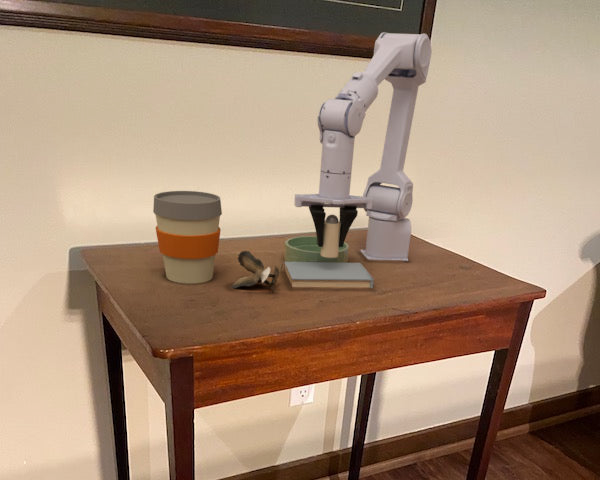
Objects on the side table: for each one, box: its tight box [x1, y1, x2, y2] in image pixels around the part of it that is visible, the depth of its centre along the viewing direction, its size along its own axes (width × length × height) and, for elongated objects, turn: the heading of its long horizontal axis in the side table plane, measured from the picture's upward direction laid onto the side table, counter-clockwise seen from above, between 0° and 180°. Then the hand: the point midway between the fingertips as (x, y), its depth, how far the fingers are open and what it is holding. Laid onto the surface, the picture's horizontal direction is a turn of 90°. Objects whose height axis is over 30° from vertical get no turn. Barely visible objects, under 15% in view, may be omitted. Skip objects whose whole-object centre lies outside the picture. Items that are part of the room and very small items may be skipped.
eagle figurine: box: [231, 250, 284, 293], centre depth 115 cm, size 8×7×9 cm
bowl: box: [283, 235, 350, 263], centre depth 133 cm, size 14×14×4 cm
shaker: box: [320, 214, 341, 258], centre depth 119 cm, size 4×4×8 cm
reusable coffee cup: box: [152, 190, 223, 285], centre depth 117 cm, size 13×13×15 cm
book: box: [283, 261, 375, 289], centre depth 122 cm, size 16×11×2 cm
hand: (329, 245), depth 119 cm, fingers closed on shaker, 3 cm apart
